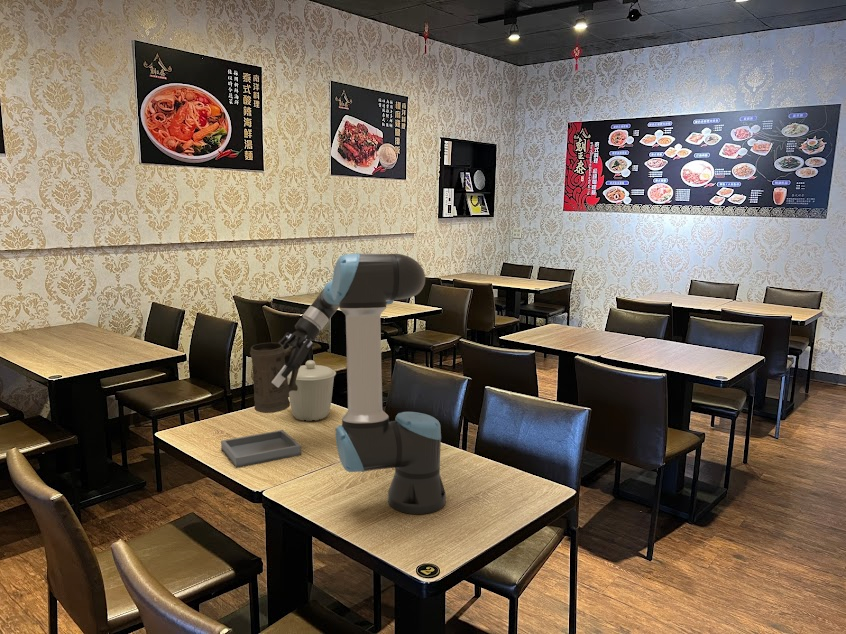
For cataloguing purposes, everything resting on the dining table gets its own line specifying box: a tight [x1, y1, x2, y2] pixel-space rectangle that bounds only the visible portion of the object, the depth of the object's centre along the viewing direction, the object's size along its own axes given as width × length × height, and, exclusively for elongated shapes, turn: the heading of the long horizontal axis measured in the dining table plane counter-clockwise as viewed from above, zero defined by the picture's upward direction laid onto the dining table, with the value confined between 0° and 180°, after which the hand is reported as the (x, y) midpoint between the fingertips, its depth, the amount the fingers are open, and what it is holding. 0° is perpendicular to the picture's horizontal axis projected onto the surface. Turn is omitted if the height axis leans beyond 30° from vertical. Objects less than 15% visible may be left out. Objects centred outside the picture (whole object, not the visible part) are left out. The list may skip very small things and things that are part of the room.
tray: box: [220, 429, 302, 469], centre depth 194 cm, size 16×20×3 cm
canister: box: [287, 359, 337, 422], centre depth 227 cm, size 18×18×21 cm
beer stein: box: [249, 342, 299, 414], centre depth 193 cm, size 15×11×20 cm
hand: (266, 381), depth 191 cm, fingers closed on beer stein, 9 cm apart
